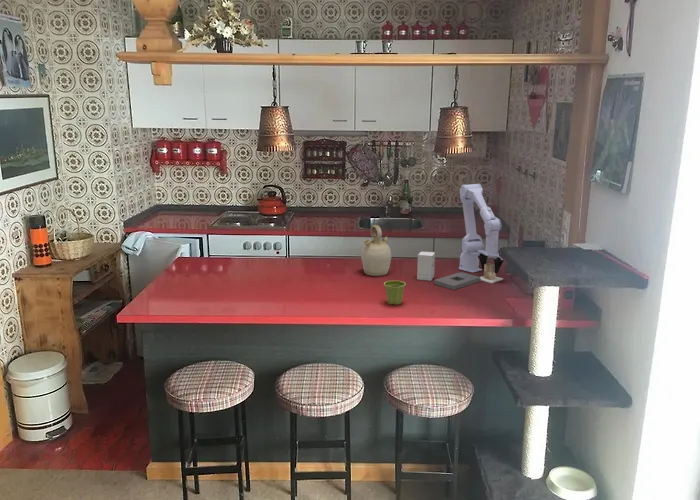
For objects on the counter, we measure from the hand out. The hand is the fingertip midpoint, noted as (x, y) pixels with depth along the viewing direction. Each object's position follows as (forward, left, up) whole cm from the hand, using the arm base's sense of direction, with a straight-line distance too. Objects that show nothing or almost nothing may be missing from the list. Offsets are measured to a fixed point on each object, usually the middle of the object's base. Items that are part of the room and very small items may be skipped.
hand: (490, 271), depth 287 cm
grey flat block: (-7, -16, -4) cm, 18 cm away
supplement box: (-22, -22, -4) cm, 31 cm away
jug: (-45, -34, -4) cm, 57 cm away
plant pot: (-7, -58, -4) cm, 59 cm away
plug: (0, 0, -4) cm, 4 cm away
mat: (0, 0, -4) cm, 4 cm away
